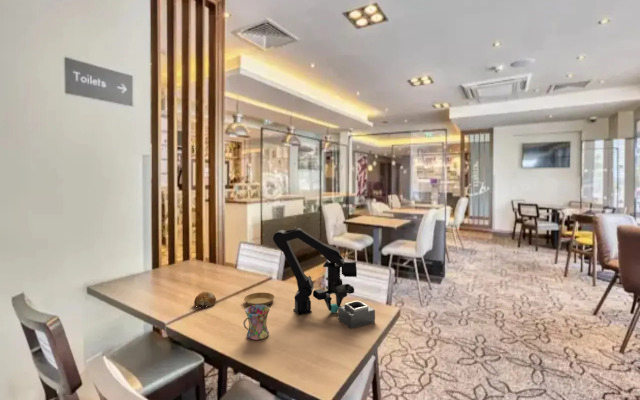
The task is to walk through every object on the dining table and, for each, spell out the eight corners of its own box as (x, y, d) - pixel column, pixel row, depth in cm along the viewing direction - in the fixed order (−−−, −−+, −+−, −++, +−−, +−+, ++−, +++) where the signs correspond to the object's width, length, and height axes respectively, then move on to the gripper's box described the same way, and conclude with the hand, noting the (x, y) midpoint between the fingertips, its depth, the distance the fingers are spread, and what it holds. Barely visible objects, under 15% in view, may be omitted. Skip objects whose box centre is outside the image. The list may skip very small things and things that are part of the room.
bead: (332, 315, 145) (332, 306, 145) (327, 311, 149) (327, 303, 149) (340, 313, 147) (340, 304, 147) (335, 310, 151) (335, 301, 150)
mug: (257, 328, 133) (256, 302, 133) (274, 333, 129) (274, 307, 128) (235, 341, 123) (234, 313, 122) (253, 347, 118) (253, 319, 118)
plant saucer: (250, 296, 169) (250, 291, 169) (278, 298, 167) (278, 293, 166) (239, 307, 154) (239, 302, 154) (269, 309, 152) (269, 304, 152)
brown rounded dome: (218, 311, 159) (222, 294, 162) (203, 309, 151) (208, 291, 153) (202, 307, 164) (207, 291, 166) (187, 305, 155) (192, 288, 157)
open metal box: (351, 329, 132) (351, 312, 132) (338, 319, 141) (338, 303, 140) (374, 322, 138) (374, 306, 137) (361, 313, 147) (361, 298, 146)
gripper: (324, 284, 135) (324, 321, 137) (361, 277, 144) (361, 312, 145) (312, 277, 145) (312, 311, 146) (347, 271, 154) (347, 303, 155)
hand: (333, 309), depth 148 cm, fingers closed on bead, 4 cm apart
